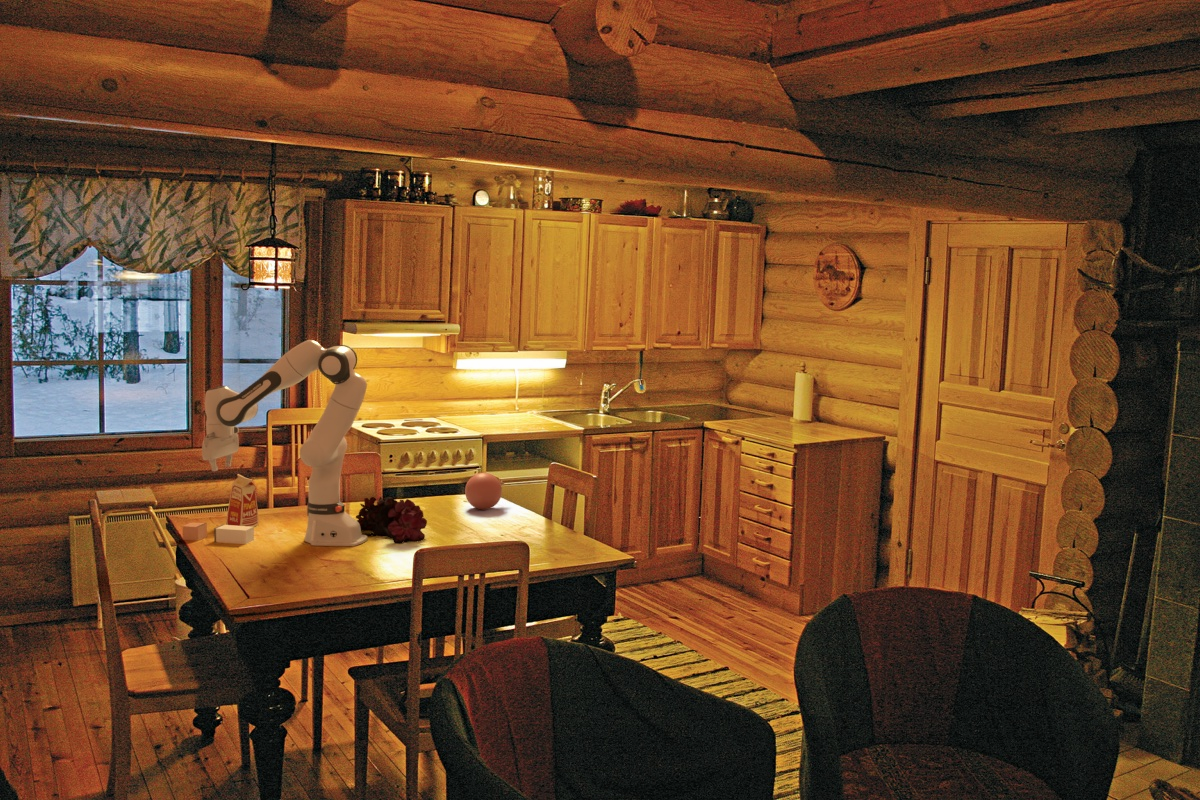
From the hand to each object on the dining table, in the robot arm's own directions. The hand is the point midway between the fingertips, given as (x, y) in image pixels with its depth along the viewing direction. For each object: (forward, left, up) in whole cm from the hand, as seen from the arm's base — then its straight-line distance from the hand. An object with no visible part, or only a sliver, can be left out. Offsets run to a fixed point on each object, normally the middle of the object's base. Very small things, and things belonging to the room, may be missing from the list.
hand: (221, 468), depth 387 cm
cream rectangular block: (-8, +6, -25) cm, 27 cm away
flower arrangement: (-58, -20, -26) cm, 67 cm away
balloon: (-80, -74, -26) cm, 112 cm away
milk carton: (+1, -18, -26) cm, 32 cm away
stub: (+8, +6, -25) cm, 27 cm away
